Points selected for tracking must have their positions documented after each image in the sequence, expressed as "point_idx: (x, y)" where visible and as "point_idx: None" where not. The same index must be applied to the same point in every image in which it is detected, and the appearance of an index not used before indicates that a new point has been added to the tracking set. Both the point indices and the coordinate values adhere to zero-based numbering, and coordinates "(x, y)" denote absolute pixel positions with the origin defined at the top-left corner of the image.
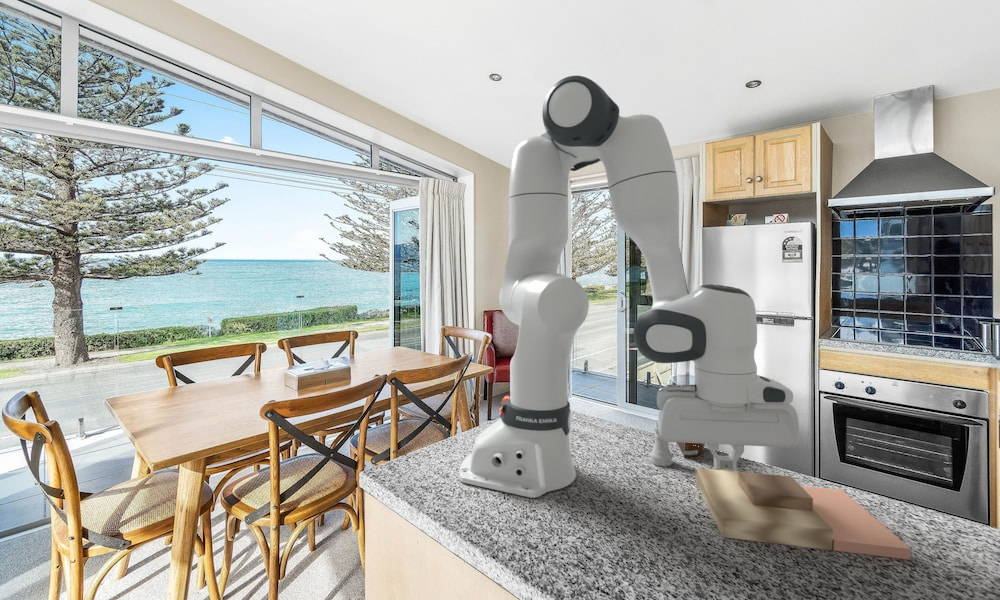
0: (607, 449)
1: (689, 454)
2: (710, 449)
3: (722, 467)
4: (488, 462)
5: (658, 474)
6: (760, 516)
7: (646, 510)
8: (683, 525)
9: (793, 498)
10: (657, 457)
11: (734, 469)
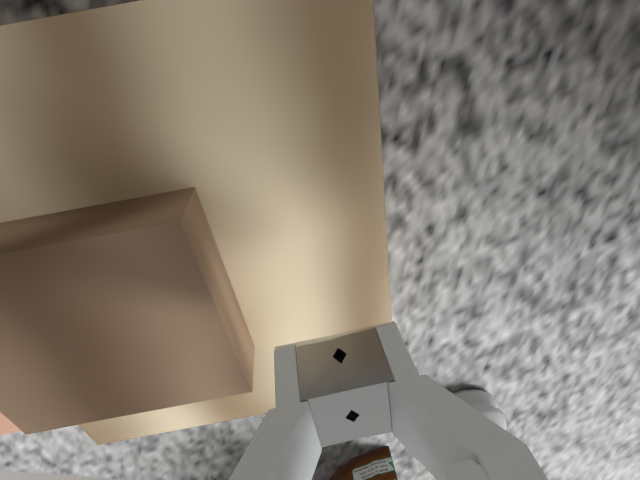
0: (600, 414)
1: (376, 461)
2: (523, 450)
3: (363, 338)
4: None
5: (489, 347)
6: (155, 72)
7: (630, 89)
8: (507, 15)
9: None
10: (492, 414)
11: (284, 348)
